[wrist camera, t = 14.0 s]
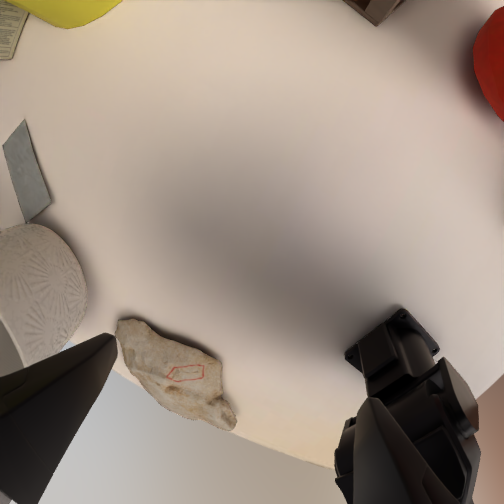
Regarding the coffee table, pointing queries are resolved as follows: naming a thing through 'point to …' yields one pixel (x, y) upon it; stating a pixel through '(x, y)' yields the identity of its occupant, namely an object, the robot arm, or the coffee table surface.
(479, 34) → the apple
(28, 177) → the grey flat slab
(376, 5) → the brown wooden stand
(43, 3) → the cone
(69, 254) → the planter
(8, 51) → the cosmetic box
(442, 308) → the coffee table surface
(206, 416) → the stone
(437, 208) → the coffee table surface
